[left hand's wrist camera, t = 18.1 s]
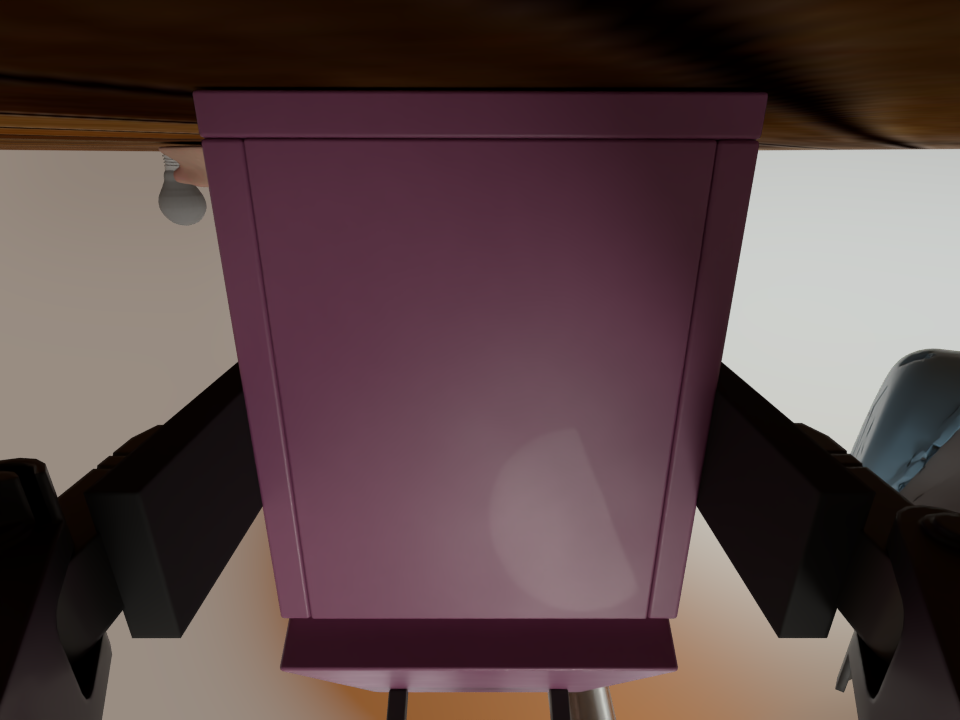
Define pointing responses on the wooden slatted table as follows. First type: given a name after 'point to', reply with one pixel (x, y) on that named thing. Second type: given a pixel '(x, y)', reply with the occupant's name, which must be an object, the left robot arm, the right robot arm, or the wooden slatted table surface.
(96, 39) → the wooden slatted table surface
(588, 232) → the chest
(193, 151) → the anatomical model
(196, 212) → the light bulb
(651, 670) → the lid
